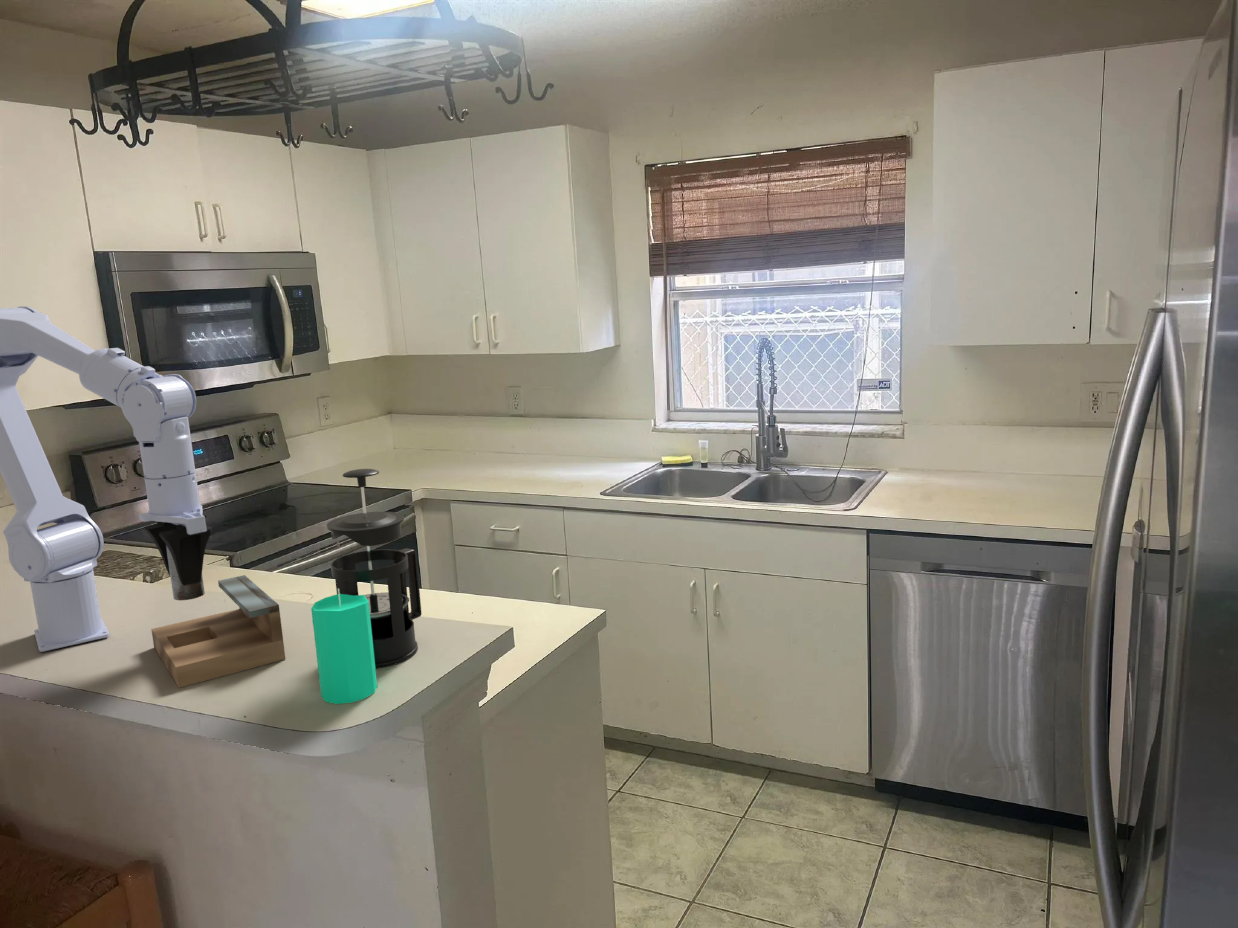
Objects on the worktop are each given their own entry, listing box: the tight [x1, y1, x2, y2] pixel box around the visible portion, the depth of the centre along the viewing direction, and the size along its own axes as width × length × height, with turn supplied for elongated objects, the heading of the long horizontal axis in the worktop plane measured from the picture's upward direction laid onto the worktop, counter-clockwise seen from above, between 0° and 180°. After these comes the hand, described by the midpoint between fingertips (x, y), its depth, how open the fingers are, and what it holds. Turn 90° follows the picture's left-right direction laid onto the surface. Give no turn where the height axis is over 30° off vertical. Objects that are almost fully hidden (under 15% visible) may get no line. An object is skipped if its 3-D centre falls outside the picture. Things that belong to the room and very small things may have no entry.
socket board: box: [151, 574, 286, 688], centre depth 112 cm, size 16×12×7 cm
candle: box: [310, 589, 378, 705], centre depth 98 cm, size 6×6×12 cm
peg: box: [166, 545, 206, 601], centre depth 113 cm, size 4×4×7 cm
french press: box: [326, 468, 422, 669], centre depth 108 cm, size 12×9×23 cm
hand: (185, 579), depth 113 cm, fingers closed on peg, 4 cm apart
